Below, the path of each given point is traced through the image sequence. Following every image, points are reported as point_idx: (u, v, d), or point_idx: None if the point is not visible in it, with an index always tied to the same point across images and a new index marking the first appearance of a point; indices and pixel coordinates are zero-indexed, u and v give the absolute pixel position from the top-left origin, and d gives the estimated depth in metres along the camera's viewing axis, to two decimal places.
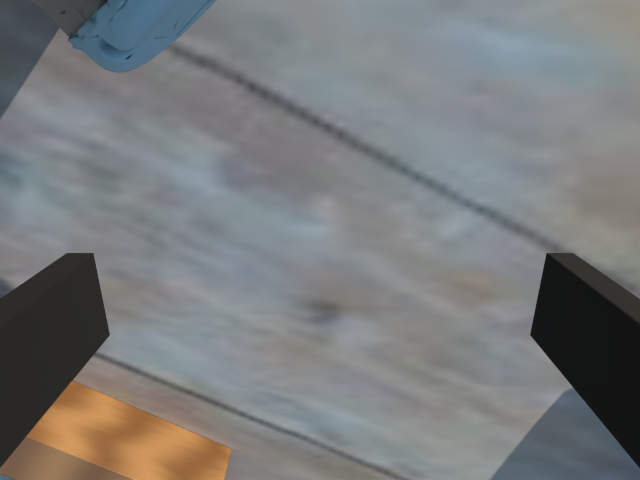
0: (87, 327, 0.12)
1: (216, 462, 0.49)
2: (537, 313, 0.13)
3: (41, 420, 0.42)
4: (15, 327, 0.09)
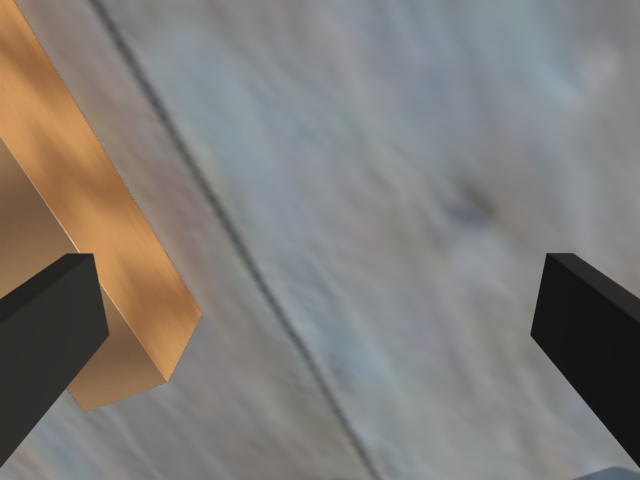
0: (87, 327, 0.12)
1: (184, 317, 0.30)
2: (537, 313, 0.13)
3: None
4: (15, 327, 0.09)
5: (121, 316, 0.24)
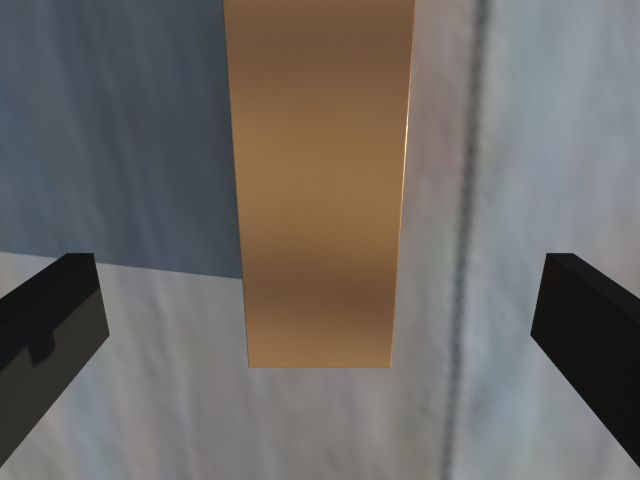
0: (87, 327, 0.12)
1: None
2: (537, 313, 0.13)
3: None
4: (15, 327, 0.09)
5: (395, 258, 0.16)
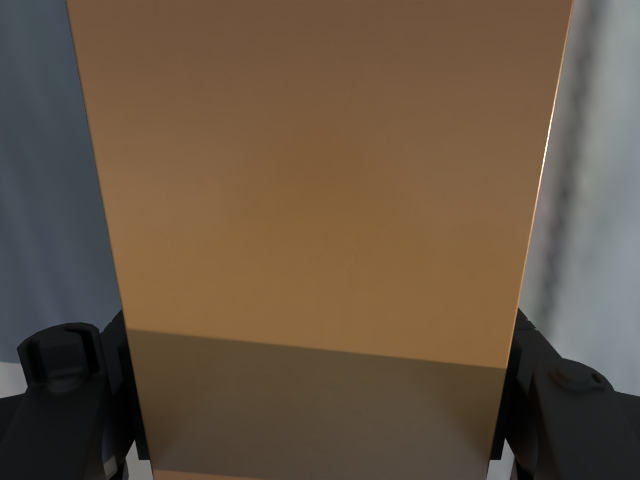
0: None
1: None
2: None
3: None
4: None
5: (483, 465, 0.07)
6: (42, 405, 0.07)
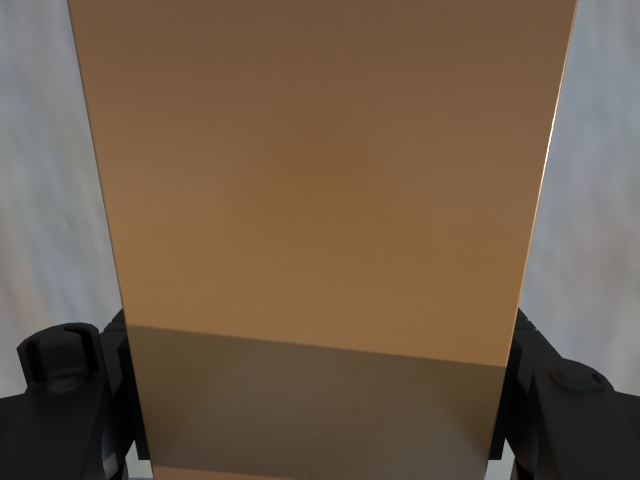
0: None
1: None
2: None
3: None
4: None
5: (482, 465, 0.07)
6: (42, 405, 0.07)
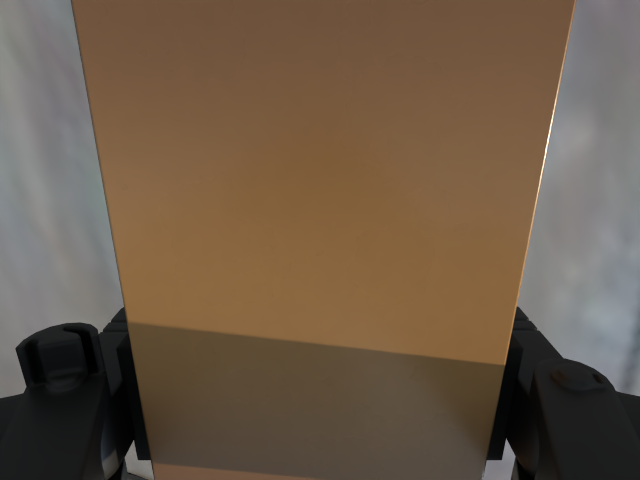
0: None
1: None
2: None
3: None
4: None
5: (481, 463, 0.08)
6: (41, 405, 0.07)
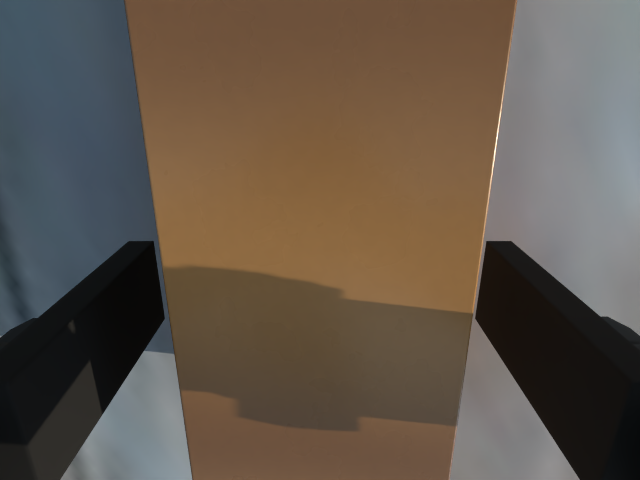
0: (149, 309, 0.13)
1: None
2: (480, 297, 0.14)
3: None
4: (101, 304, 0.10)
5: (456, 402, 0.09)
6: None
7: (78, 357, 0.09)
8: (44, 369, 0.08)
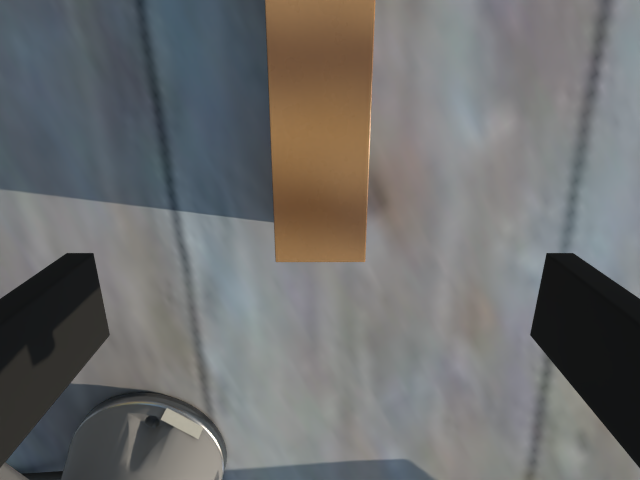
0: (87, 327, 0.12)
1: None
2: (537, 313, 0.13)
3: None
4: (15, 327, 0.09)
5: (366, 189, 0.27)
6: None
7: None
8: None
